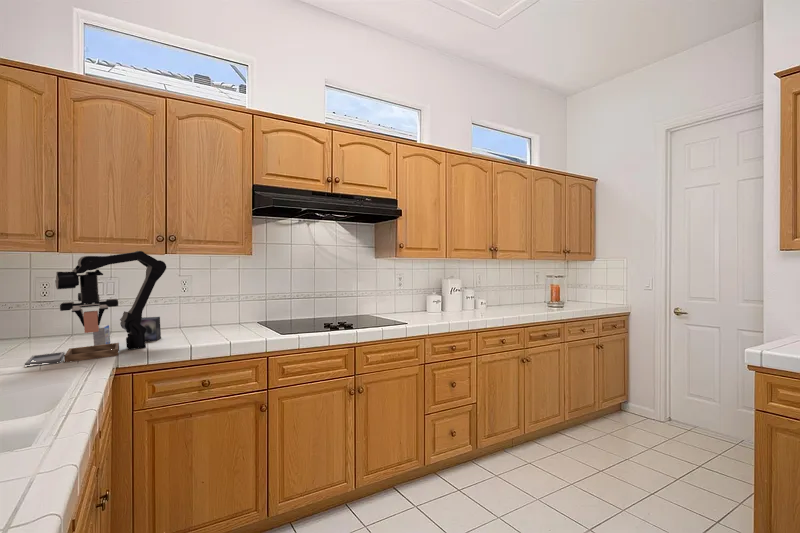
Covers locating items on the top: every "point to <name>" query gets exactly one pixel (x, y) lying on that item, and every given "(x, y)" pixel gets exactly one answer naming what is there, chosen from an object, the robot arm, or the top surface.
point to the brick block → (91, 321)
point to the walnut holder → (91, 352)
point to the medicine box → (102, 335)
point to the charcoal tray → (46, 358)
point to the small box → (151, 328)
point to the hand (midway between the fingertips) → (91, 325)
